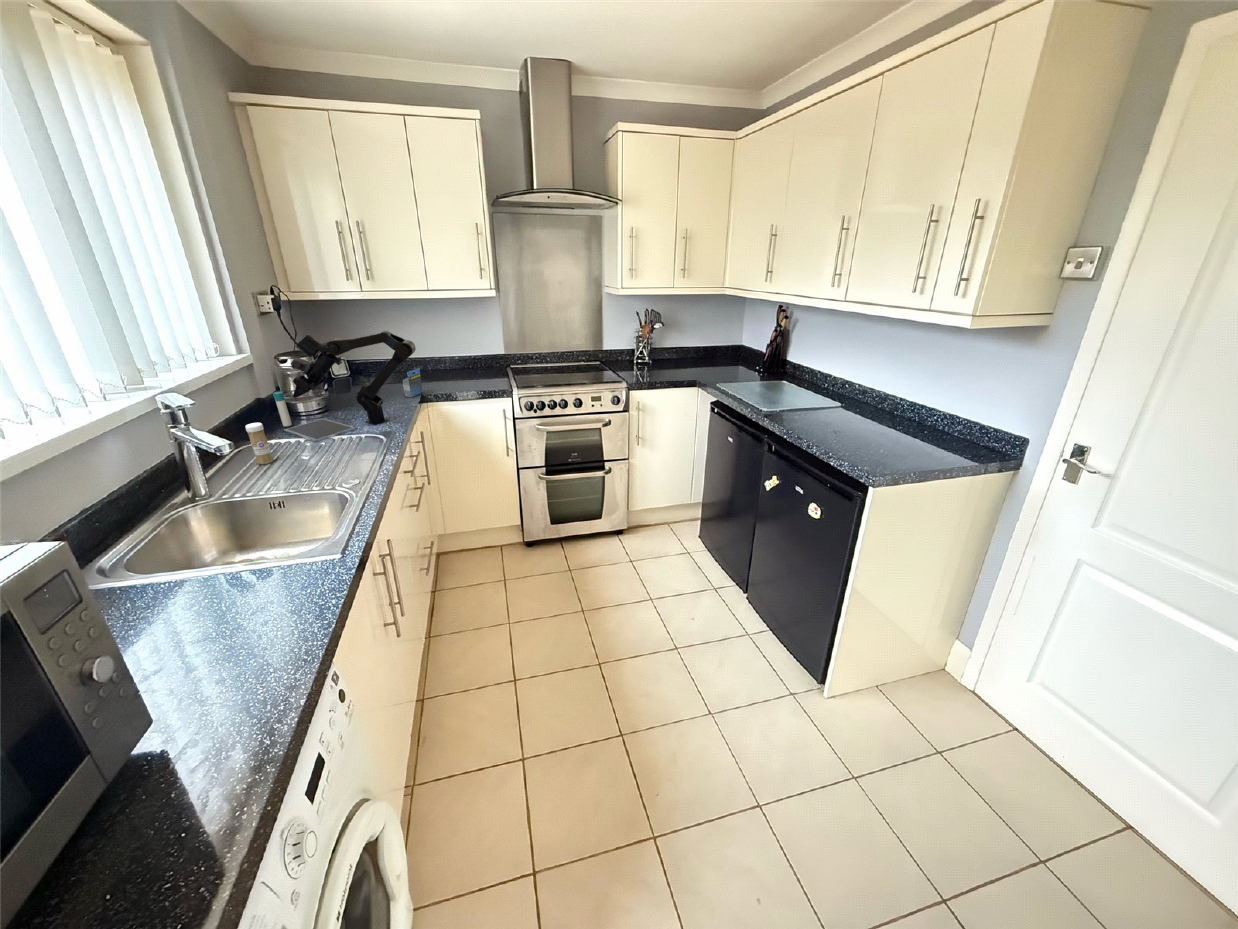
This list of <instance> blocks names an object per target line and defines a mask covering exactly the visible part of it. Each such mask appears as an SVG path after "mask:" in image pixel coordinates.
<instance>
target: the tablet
mask: <svg viewBox="0 0 1238 929" xmlns="http://www.w3.org/2000/svg"><path fill="white" fill-rule="evenodd" d="M356 429H357V428H356V427H355V426H351V425H348V424H344V423H342V422H338V421H334V420H331V419H327V418H319V419H317V420H313V421H309V422H306V423H303V424H299V425H295V426H291V427H288V428H284V429H283V432H284V433H287V434H290V435H293V436H296V437H300V438H302V439H305V440H308V441H311V442H314V443H317V442H320V441H325V440H327V439H330V438H332V437H336V436H339V435H342V434H345V433H349V432H351V431H354V430H356Z"/></svg>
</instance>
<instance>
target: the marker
mask: <svg viewBox="0 0 1238 929" xmlns="http://www.w3.org/2000/svg"><path fill="white" fill-rule="evenodd" d="M272 395H273V398H274V401H275V404H276V407H277V410H278V414H279V417H280V420H281V423H282V427H283V428H284V429H288V428H291V427H293V424H292V420H291V416H290V414H289V411H288V410H289V409H288V407H287V403H286V398H285V396H284V392H283V391H275V392H273V393H272Z"/></svg>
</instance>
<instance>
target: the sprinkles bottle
mask: <svg viewBox="0 0 1238 929" xmlns="http://www.w3.org/2000/svg"><path fill="white" fill-rule="evenodd" d="M245 431H246V432H247V435H248V438H249V440H250V441H249V442H250V444H251V448H252V450H253V454H254V455H255V458H256V461H257V464H258V465H267V464H271V463H273V461H274V458H273V455H272V453H271V448H270V445H269V442H268V439H267V436H266V434H265V429H264V425H263V423H261V422H252V423H248V424H246V425H245Z"/></svg>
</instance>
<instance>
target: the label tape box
mask: <svg viewBox="0 0 1238 929" xmlns="http://www.w3.org/2000/svg"><path fill="white" fill-rule="evenodd" d="M406 375H407V377H406V378H404V379H402V386H403V391H404V397H405V398H413V397H414V398H415V397H416V396H419V395H421V394H423V393H424V391H423V384H422V378H421V372H420V368H419V367H418V368H415V369H412V370H409V371H407V372H406Z"/></svg>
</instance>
